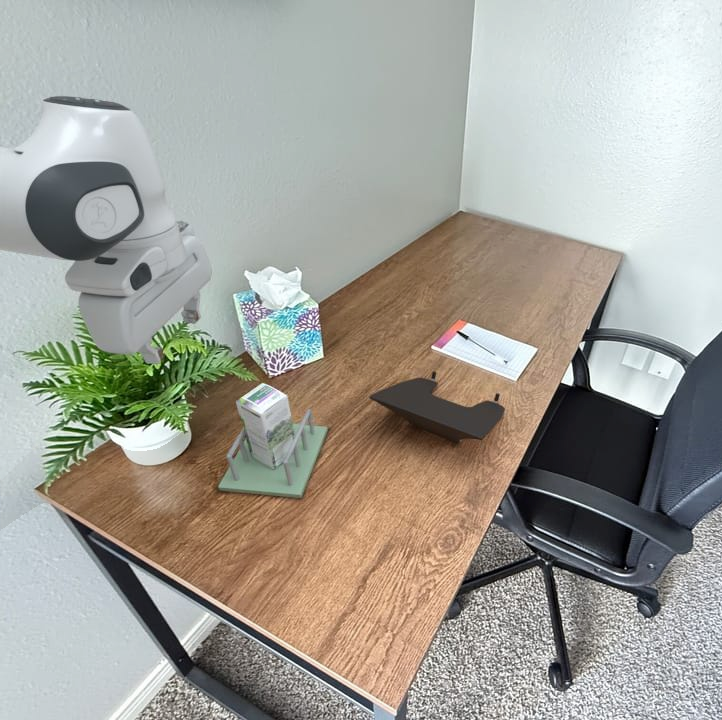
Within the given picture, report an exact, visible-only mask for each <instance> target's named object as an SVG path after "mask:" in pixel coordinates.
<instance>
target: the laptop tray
mask: <svg viewBox="0 0 722 720" xmlns="http://www.w3.org/2000/svg"><path fill="white" fill-rule="evenodd" d="M436 376H437V371H435V370H433V371H432V373H431V376H430V379H429V378H424V377H415V378H412V379H408V380H405V381H401V382H398V383H396V384H394V385H391V386H387V387H386V388H383V389H381V390H379V391H377V392H374V393H373V394H371V395H369V400H372V401H373V402H375V403H377V404H379V405H381V406H382V407H384V408H386V409H388V410H389V411H391V412H393V413H394V414H395V415H397V416H399V417H400V418H401V419H403V420H404V421H405V422H407V423H408V424H409V425H410V426H411V427H413V428H415V429H416V430H420V431H422V432H424V433H427V434H430V435H433V436H436V437H438V438H441V439H443V440H446V441H448V442H451V443H453V444H460V442H461V441H463V440H474V441H475V440H476V441H483V439H484V438H485V437H486V436H487V435H489V434H490V432H492V430H494V429H495V427H496V426H497V425H498V423H499V422H500V421H501V419H502V417H503V415H504V413H505V411H506V408H505V407H504V406H503V405H501V404H500V403H498V402H499V399H500V395H501V394H500V393H498V392H497V393H495V395H494V399H493V401H492V400H484V401H481V402H479V403H476V404H474V405H473V406H465V405H462V404H458V403H456V402H453V401H450V400H448V399H444V398H442V397H439V396H437V395H434V394H432V391H434V390H435V389H436V388H437V386H438V385H439V383H438V382H437V381H435V379H436Z"/></svg>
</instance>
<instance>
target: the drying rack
mask: <svg viewBox="0 0 722 720" xmlns="http://www.w3.org/2000/svg"><path fill="white" fill-rule="evenodd" d="M312 413H313V412H312V409H310V408H308V409H306V412H305V414H304V415H303V418H302V420H301V422H300V423H293V422H292V424H293V429H294V435H295V437H294V439H293V441H292V443H291V445H290V448H289V450H288V452H287V454H286V456H285V458H284V460H283V463H282V464H280V465H279V466H278V467H277V468H276V469H275V470H274V469H272V468H270V467H268V466H267V465H265V464H263V463H261V462H259V461H258V460H256V459H254V458H252V457H251V455H250V451H249V447H248V444H247V440H246V438H245V439H243V438H244V437H245V433H244V430H243V428H242V429H241V430H240V432H239V434H238V435H237V437H236V439H235V440H234V442H233V444H232V446H231V447H230V448H229V450H228V452H227V454H226V456H225V457H226V460H227V463H228V466H229V467H228V468H227V470H226V472H225V473H224V475H223V477H222V479H221V481H220V482H219V483H218V486H217V489H218V491H221V492H231V493H241V494H250V495H251V494H252V495H262V496H274V497H282V498H283V497H285V498H295V499H302V498H303V495H304V492H305V490H306V487H307V484H308V482H309V479H310V477H311V475H312V472H313V469H314V467H315V464H316V462H317V460H318V457H319V455H320V452H321V450H322V447H323V445H324V442H325V440H326V438H327V434H328V431H329V427H328V426H323V425H314V419H313V418H314V417H313V414H312ZM307 422H308V424H307ZM238 447H239V449H238V451H237V453H236V455H235V456H234V458H233V455H234V454H235V452H236V450H237V448H238ZM292 453H293V454H292Z"/></svg>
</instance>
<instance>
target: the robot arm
mask: <svg viewBox="0 0 722 720" xmlns="http://www.w3.org/2000/svg"><path fill="white" fill-rule="evenodd" d="M40 108H41V109H40V110H41V117H40V120H39V121H38V123H37V126H36V128H35V129H34V130H33V131H32V133H31V134H30V135H29V136H28V138H26V140H25V141H23V142H21V144H19V145H17V146H16V147H14V148H11V147H6V146H0V251H5V252H11V253H17V254H24V255H28V256H29V255H30V256H35V257H42V258H48V259H54V260H61V261H74V262H73V263H72V265H71V266H70V267H69V268H68V270H67V271H66V273H65V275H64V279H65V283H66V284H67V287H68V288H69V289H70V290H71V291H72V292H73V291H74V292H79V293H80V294H79V296H78V309H79V310H78V311H79V313H80V315H81V318H82V321H83V323H84V325H85V327H86V329H87V331H88V334H89V336H90V338H91V339H92V341H93V343H94V344H95V346H96V347H97V348H98V349H99V350H101V351H103V352H105V353H108V354H116V355H126V356H127V355H129V356H130V355H131V356H132V355H135V354H136V353H137V352H138V353H140V354H141V356H142V358H143V361H144V362H145V363H146V364H151V365H158V364H160V362H161V361H162V360H163V359H164V358H165V357H166V355H165V353H164V350H163V347H162V346H154V345H153V346H152V344H153V343H154V341H153V337H154V335H156V334H157V333H158V332H159V331H160V330H162V328H163V327H164V326H165V325H166V324H167V323H168V322H169V321H170V320H171V319H172V318H173V317H174V316H175V315H176V314H177V313H178V312H180V310H181V309H182V308H183V310H182V311H181V312H180V314H181V317H182V320H183V322H184V323H185V324H191V325H195V324H197V323H198V321H199V320H201V318H202V315H201V313H200V302H201V301H200V300H201V293H200V291H201V290H202V289H203V287H205V286H206V285H207V284H208V283H209V282H210V281H211V279H212V274H213V269H212V266H211V263H210V260H209V257H208V255H207V252H206V250H205V247H204V245H203V243H202V240H200V239H199V238H198V237H197V236H196V234H195V231H194V228H193V226H192V225H191V224H190V223H188V222H186V221H183V220H178V221H177V217H176V216H175V214H174V212H173V211H172V209H171V207H170V206H169V204H168V201H167V198H166V182H165V179H164V176H163V172H162V168H161V166H160V163H159V160H158V158H157V154H156V151H155V150H154V147H153V144H152V142H151V140H150V137H149V135H148V133H147V130H146V128H145V127H144V125H143V123H142V122H141V120H140V118H139V117H138V116H137V113H136V112H134V111H133V110H132V109H130V108H129V107H126V106H125V105H123V104H121V103H118V102H115V101H108V100H101V99H95V98H85V97H80V96H66V95H65V96H64V95H59V96H50V97H47V98H44V99H42V100H41V102H40Z"/></svg>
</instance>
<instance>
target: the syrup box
mask: <svg viewBox="0 0 722 720" xmlns="http://www.w3.org/2000/svg"><path fill="white" fill-rule="evenodd" d="M235 404H236V408H237V412H238V416H239V419H240V422H241V426H242V429H243V430H244V433H245V435H244V437H245V439H246V440H247V444H248V447H249V451H250V455H251V457H252V458H254V459H256V460H258V461H259V462H261V463H263V464H265V465H267V466H268V467H270V468H272V469H274V470H275V469H276V468H277V467H278V466H279V465H280V464H282V463H283V460H284V458H285V456H286V454H287V452H288V450H289V448H290V445H291V443H292V441H293V439H294V437H295V435H294V429H293V424H294V423H293V418H292V414H291V408H290V402H289V397H288V395H287V394H285V393H283V392H282V391H281V390H278V389H277V388H275V387H273V386H271V385H269V384H266V383H265V382H262V383H260V384H259V385H257V386H256V387H254V388H253V389H251V390H250V391H249V392H247V393H246V394H244V395H243V396H241V397H240V398H238V399H237V400H235ZM292 423H293V424H292ZM292 454H293V453H292Z"/></svg>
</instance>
